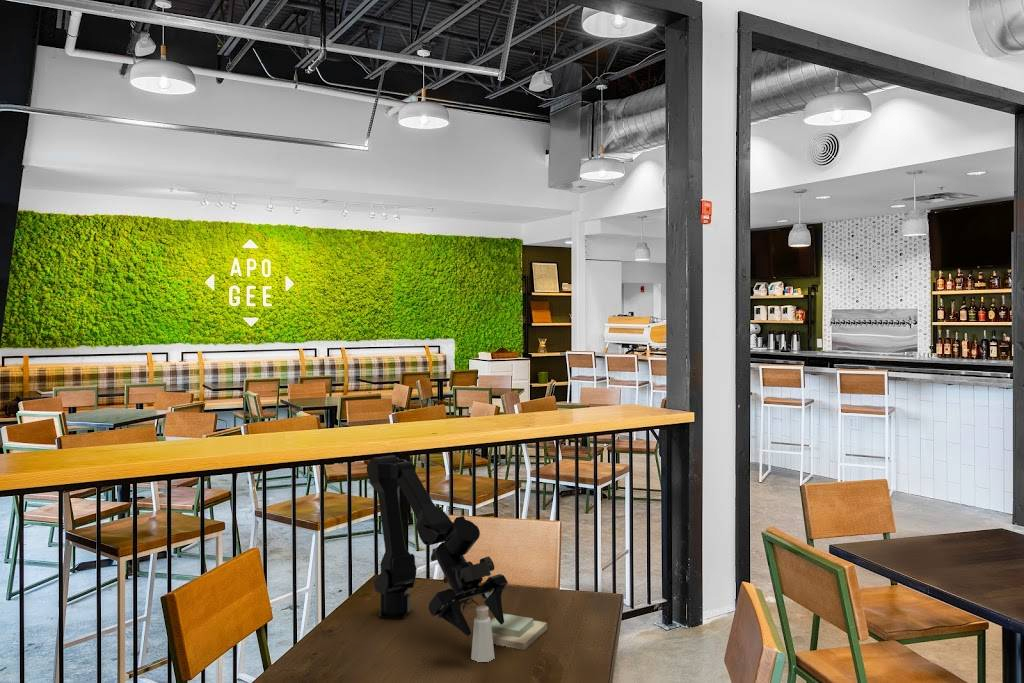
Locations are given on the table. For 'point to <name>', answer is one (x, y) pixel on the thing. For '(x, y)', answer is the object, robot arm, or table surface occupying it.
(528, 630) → the plinth
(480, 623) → the salt shaker
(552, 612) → the table surface
